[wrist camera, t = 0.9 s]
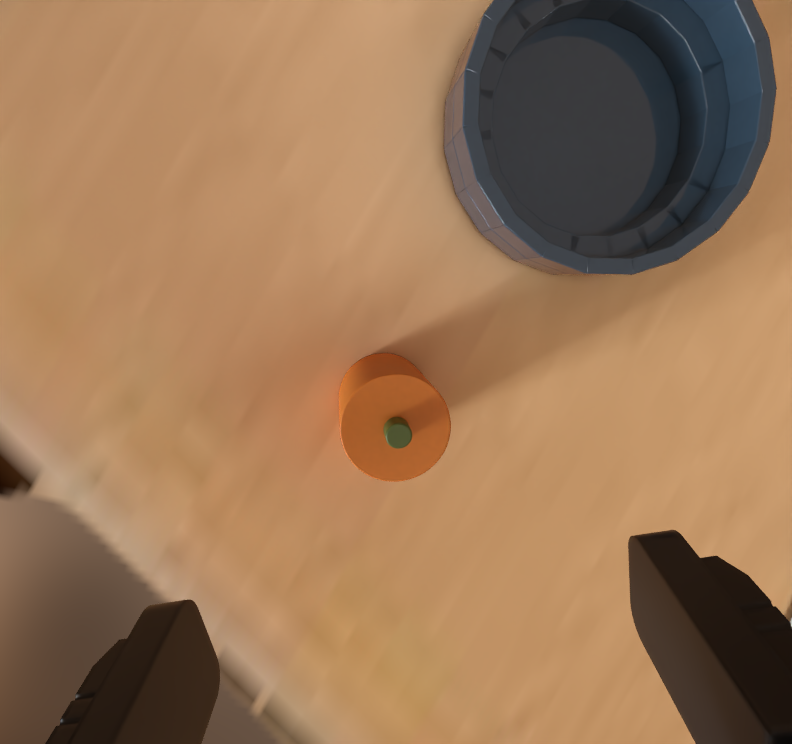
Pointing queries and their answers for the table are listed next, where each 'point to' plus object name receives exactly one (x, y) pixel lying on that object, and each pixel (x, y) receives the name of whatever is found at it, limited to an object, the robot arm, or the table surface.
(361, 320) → the table surface
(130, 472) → the table surface
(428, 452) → the squash
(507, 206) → the bowl
